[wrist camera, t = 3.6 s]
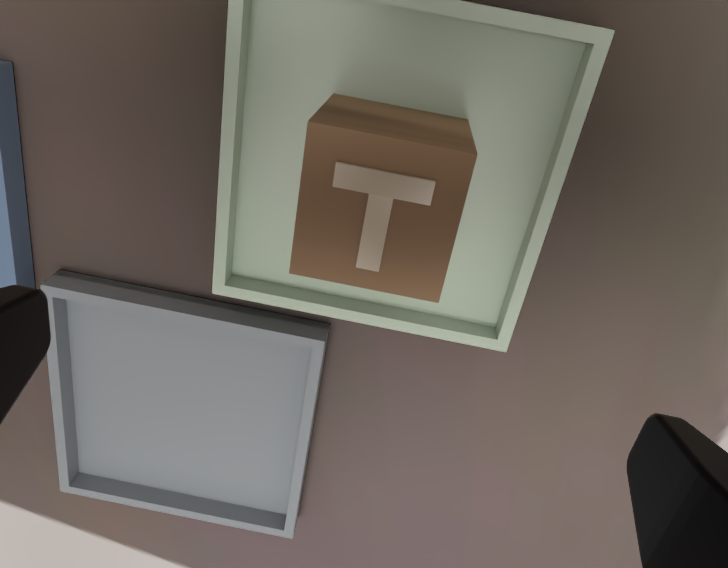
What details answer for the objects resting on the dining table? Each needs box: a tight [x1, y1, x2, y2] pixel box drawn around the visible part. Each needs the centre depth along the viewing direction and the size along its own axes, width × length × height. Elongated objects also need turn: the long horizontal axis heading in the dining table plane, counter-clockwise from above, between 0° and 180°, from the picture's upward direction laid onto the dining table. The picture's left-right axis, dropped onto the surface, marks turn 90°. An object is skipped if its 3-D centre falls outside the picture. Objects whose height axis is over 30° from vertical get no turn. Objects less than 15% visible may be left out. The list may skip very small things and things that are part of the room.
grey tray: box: [40, 270, 330, 539], centre depth 23 cm, size 10×10×1 cm
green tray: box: [212, 0, 615, 352], centre depth 18 cm, size 10×10×1 cm
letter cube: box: [289, 93, 478, 303], centre depth 16 cm, size 4×4×4 cm
